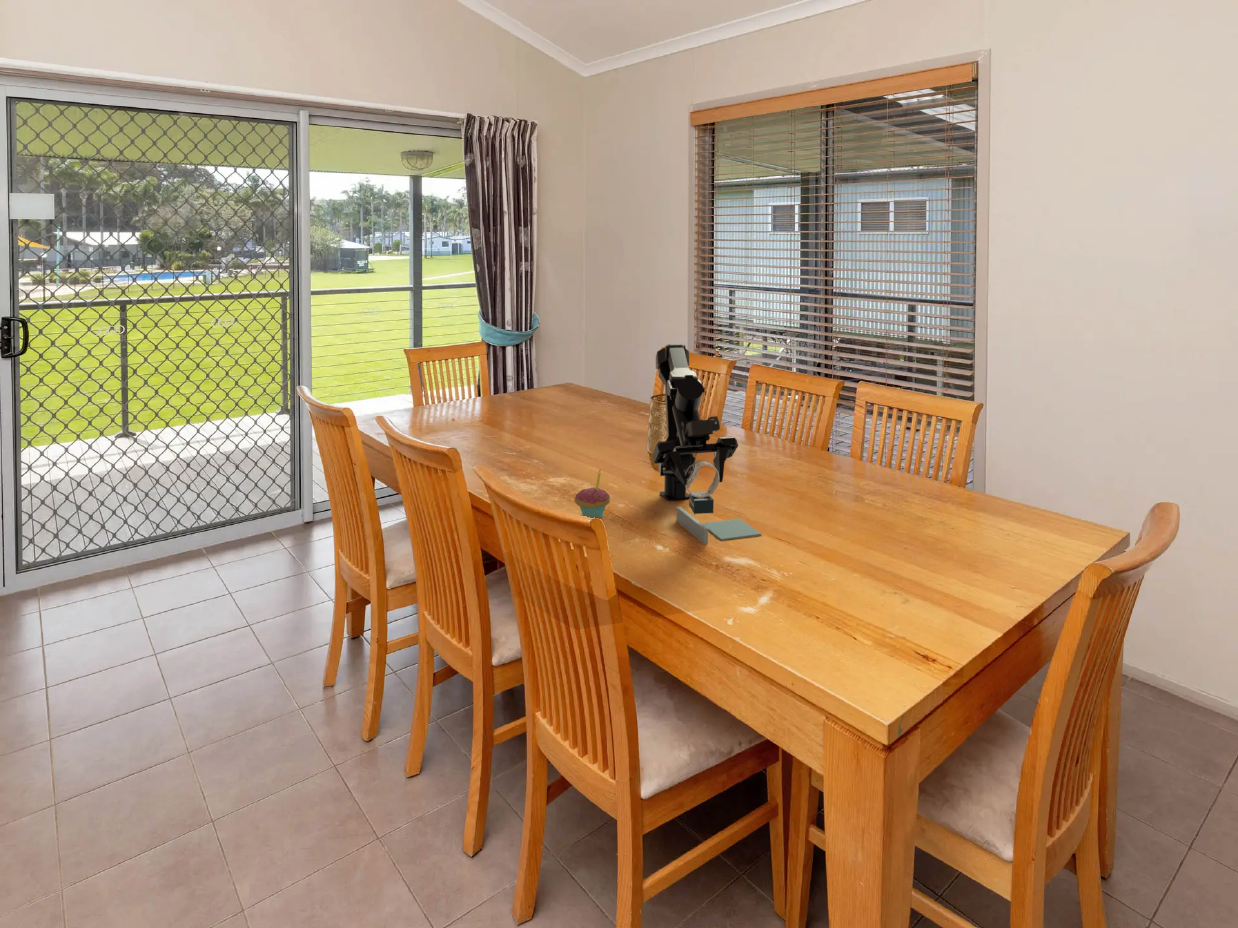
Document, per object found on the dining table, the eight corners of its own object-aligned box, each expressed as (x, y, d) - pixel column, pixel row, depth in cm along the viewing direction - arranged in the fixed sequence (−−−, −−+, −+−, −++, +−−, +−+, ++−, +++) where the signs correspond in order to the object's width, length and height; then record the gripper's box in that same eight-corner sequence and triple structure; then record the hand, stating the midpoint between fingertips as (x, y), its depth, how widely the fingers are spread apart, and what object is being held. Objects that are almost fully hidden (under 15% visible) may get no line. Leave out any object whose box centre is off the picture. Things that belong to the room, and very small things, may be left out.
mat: (701, 524, 196) (701, 523, 196) (739, 520, 199) (739, 518, 199) (721, 540, 186) (721, 538, 185) (761, 535, 189) (761, 533, 188)
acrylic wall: (676, 520, 198) (676, 507, 197) (680, 520, 199) (680, 506, 198) (703, 543, 184) (704, 528, 183) (707, 543, 184) (708, 528, 183)
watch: (680, 505, 189) (681, 459, 185) (715, 504, 190) (716, 458, 186) (685, 514, 183) (686, 467, 180) (721, 512, 184) (722, 465, 181)
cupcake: (609, 510, 206) (609, 464, 203) (610, 521, 198) (610, 473, 195) (575, 511, 206) (574, 464, 203) (574, 522, 198) (573, 474, 195)
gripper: (656, 406, 181) (671, 469, 174) (736, 401, 185) (754, 462, 178) (646, 432, 191) (660, 492, 184) (722, 427, 195) (738, 486, 188)
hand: (703, 483), depth 183 cm, fingers closed on watch, 8 cm apart
